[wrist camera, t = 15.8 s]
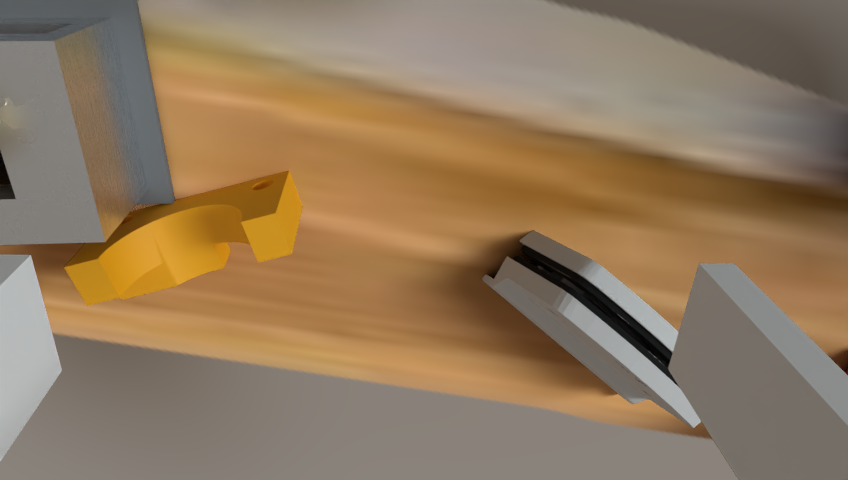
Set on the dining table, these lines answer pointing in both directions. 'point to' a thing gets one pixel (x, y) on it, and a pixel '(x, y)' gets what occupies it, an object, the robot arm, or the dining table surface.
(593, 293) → the grey rounded block
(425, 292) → the dining table surface
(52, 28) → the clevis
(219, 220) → the pipe clamp
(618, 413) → the dining table surface
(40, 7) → the mat
